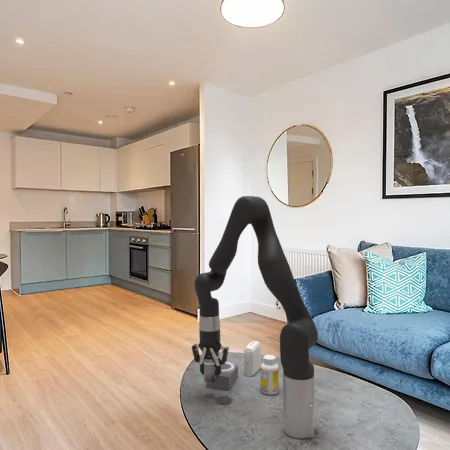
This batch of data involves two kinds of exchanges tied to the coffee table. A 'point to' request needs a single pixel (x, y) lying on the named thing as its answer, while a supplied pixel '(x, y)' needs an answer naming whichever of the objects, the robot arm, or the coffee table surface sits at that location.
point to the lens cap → (223, 400)
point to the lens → (209, 369)
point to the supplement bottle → (269, 375)
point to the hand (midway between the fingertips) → (210, 374)
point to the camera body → (226, 377)
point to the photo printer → (252, 358)
